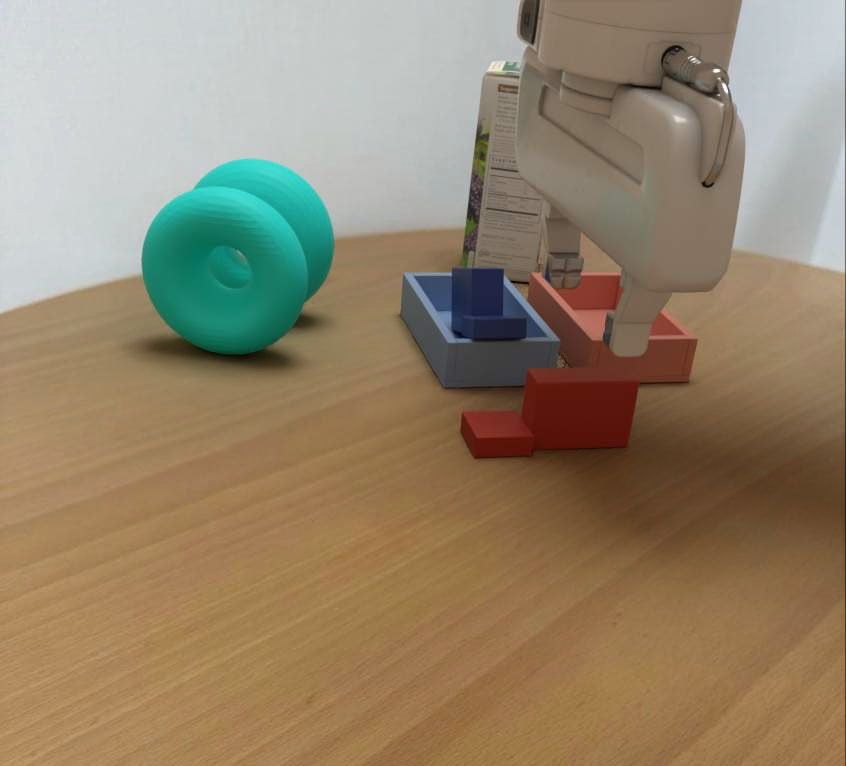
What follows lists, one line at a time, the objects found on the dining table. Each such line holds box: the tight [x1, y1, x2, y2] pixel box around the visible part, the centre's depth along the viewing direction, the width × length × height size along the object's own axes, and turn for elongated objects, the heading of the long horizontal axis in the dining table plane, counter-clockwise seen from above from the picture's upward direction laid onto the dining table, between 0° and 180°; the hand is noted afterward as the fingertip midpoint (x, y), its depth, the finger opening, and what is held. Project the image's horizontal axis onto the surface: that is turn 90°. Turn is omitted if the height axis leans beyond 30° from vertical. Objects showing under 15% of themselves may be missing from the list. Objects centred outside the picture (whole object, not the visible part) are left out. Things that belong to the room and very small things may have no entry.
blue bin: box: [399, 272, 560, 389], centre depth 74 cm, size 7×12×3 cm, turn 13°
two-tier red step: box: [459, 367, 641, 458], centre depth 63 cm, size 9×3×4 cm, turn 102°
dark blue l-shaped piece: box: [451, 267, 527, 339], centre depth 71 cm, size 9×3×4 cm, turn 10°
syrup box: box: [460, 60, 544, 283], centre depth 85 cm, size 6×6×14 cm
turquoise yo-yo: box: [141, 158, 335, 356], centre depth 71 cm, size 10×10×10 cm
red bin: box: [526, 271, 699, 384], centre depth 76 cm, size 7×12×3 cm, turn 13°
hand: (589, 316), depth 60 cm, fingers open, 8 cm apart
